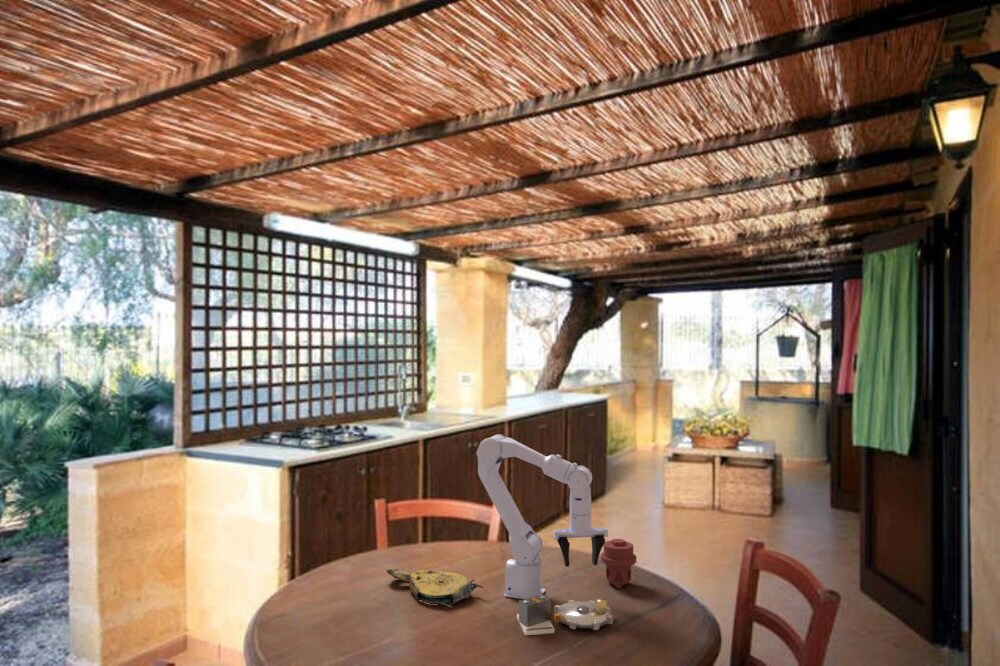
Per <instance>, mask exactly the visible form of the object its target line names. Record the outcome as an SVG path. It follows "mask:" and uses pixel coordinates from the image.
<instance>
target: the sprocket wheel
mask: <svg viewBox="0 0 1000 666" xmlns="http://www.w3.org/2000/svg"><path fill="white" fill-rule="evenodd" d="M553 610H554V611H553V613H554V614H553V616H554V617H553V620H554V622H556V623H562V624H564V625H567V626H568V627H569V629H572V630H576V629H578V628H579V629H592V630H593V631H597V630H600V627H602V626H605V625H606V624H609V625H612V624H613V622H614V615H612V608H611V607H610V606H608V604H607V599H606V598H602V597H600V598H596V601H595V600H591V599H590V600H589V601H583V600H578V601H577V600H576V601H575V600H574V599H570V600H567V602H566V603H563V604H561V605H559V604H555V606H553Z"/></svg>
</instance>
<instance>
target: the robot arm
mask: <svg viewBox="0 0 1000 666" xmlns="http://www.w3.org/2000/svg"><path fill="white" fill-rule="evenodd" d="M476 456H477V474H478V475H477V476H478V477H479V479H480V481H481V483H482V484H483V486H484V489H485V490H486V492H487V494H488V496H489V498H490V500H491V502H492V504H493V506H494V507H495V509H496V510H497V513H498V515H499V516H500V518H501V521H502V523H503V525H504V526H505V528H506V530H507V532H508V541H509V545H510V547H511V554H512V557H513V559H512V558H509V559H507V562H506V564H505V571H504V572H505V573H504V580H505V581H504V583H505V584H504V591H505V592H504V594H503V595H504V597H507V598H514V599H520V600H523V599H527V598H529V597H535V596H539V595H544V593H546V588H542V559H541V557H540V554H539V553H540V552H541V551H542V549H543V540H542V538H541V537H540V535H539V534H537V533H536V532H535V531H534V529H533V527H532V526H531V525H529V524H528V523H527V522H525V520H524V517H523V516H522V514H521V512H520V510H519V508H518V506H517V504H516V503H515V501H514V499H513V497H512V495H511V493H510V491H509V490H508V488H507V486H506V484H505V482H504V480H503V478H502V477H501V475H500V473H499V470H500V466H501V464H502V461H503V459H506V458H513V457H515V458H518V459H520V460H522V461H524V462H527V463H530V464H532V465H535V466H537V467H539V468H541V470H542V473H543V474H544V475H546V476H548V477H550V478H552V479H554V480H556V481H559V482H561V483H563V484H565V485H566V484H567V486H568V487H569V527H568V528H562V529H554V530H552V534H553V535H552V538H553V539H554V540H556V541H557V543H558V546H559V547H560V548H559V549H560V550H561V553H562V557H563V558H562V559H563V563H564V566H565V567H566V568H569V567H570V546H571V545H570V544H571V543H570V542H569V539H572V538H573V539H575V538H576V539H577V538H590V541H591V551H592V552H591V562H592V565H594V566H597V565H598V561H599V558H600V555H601V551H602V549H603V548H604V543H605V542H606V538H608V537H609V533H608V532H609V530H608V528H607V527H592V496H591V493H592V492H591V491H592V490H591V486H590V484H591V483H592V481H593V473H592V472H591V470H590V469H589V468H588V467H586V466H585V465H578V463H576V462H573V463H572V462H570V461H568V460H566V459H564V458H562V455H560V454H558V453H557V454H556V455H555V454H550V455H548V456H546V455H544V454H542V453H541V452H538V451H536V450H535V449H532V448H530V447H529V446H527V445H524V444H523V443H521V442H519V441H517V440H515V439H514V438H511V437H506V436H505V435H504V434H497V433H496V434H495V435H492V436H491V437H487V438H484V439H482V440H481V441H480V443H479V445H478V447H477V449H476Z"/></svg>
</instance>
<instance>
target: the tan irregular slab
mask: <svg viewBox="0 0 1000 666" xmlns="http://www.w3.org/2000/svg"><path fill="white" fill-rule="evenodd" d="M386 573H387V574H388V575H389V576H391V577H392V578H394V579H395V580H399V581H403V582H406V583H409V588H410V591H411V593H412V594H413V595H415V596H414V597H415V598H416V600H417V599H418V600H422V601H423V602H426V603H430V604H438V605H446V606H445V607H449V608H452V605H454V604H455V603H459V602H460V601H461V600H464V599H469V597H470V596H471V594H472V592H473V591H474V590H475V589H477V587H478V588H482V589H485V588H484V587H485V586H483V585H479V584H477V583H476V582H475V579H471V580H469V579H468V578H467V577H466V576H465V575H462V574H460V573H455V572H449V571H441V570H432V569H417V570H414V571H412V572H409V571H405V570H402V569H398V568H395V569H392V568H389V569H387V570H386ZM473 582H475V583H473ZM418 600H417V601H418Z"/></svg>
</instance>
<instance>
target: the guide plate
mask: <svg viewBox="0 0 1000 666" xmlns="http://www.w3.org/2000/svg"><path fill="white" fill-rule="evenodd" d="M516 619H517V621H518V623H519V626H520V628H521V629H522V631H523V634H524V636H532V635H534V636H535V635H536V636H537V635H548V634H555V632H556V631H555V630H556V629H555V627H554V626H553V624H552V622H551V620H550V621H546V622H543V623H539V624H536V625H533V626H529V627H527V626H525V625H523V624H522V623H520V622H519V612H518V613H516Z"/></svg>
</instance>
